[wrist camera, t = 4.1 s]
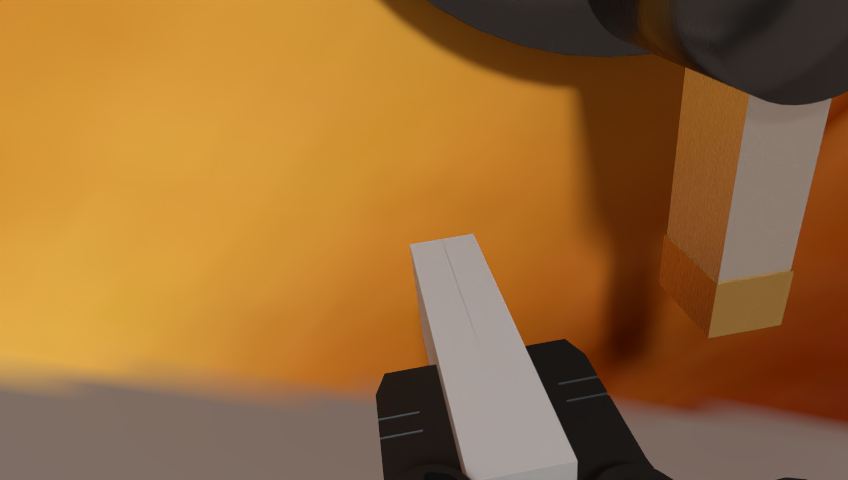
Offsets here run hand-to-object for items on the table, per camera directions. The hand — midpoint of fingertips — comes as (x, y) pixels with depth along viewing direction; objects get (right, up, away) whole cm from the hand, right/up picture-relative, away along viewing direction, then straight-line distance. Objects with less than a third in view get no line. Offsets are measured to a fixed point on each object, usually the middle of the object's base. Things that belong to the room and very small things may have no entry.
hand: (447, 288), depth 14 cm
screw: (+6, +6, +3) cm, 9 cm away
